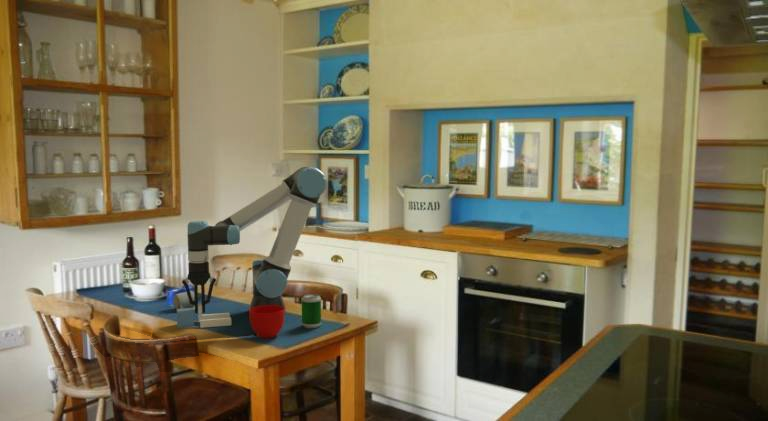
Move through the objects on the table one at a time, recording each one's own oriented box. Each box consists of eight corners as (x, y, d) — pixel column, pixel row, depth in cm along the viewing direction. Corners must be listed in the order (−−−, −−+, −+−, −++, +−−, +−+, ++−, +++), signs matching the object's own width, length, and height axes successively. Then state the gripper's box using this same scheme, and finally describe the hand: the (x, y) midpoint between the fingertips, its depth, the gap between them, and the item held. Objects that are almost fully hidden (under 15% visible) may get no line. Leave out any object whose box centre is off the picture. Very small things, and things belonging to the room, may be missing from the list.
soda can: (324, 327, 245) (324, 296, 244) (306, 329, 242) (306, 298, 241) (316, 322, 252) (316, 292, 251) (299, 325, 248) (298, 295, 247)
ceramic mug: (172, 309, 274) (171, 291, 273) (190, 306, 279) (190, 289, 278) (181, 314, 266) (180, 296, 265) (200, 311, 271) (199, 293, 270)
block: (193, 323, 248) (193, 307, 247) (193, 326, 242) (193, 311, 242) (177, 324, 246) (177, 309, 245) (177, 328, 241) (176, 312, 240)
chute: (229, 321, 254) (229, 312, 253) (231, 327, 245) (231, 318, 244) (181, 325, 248) (181, 316, 248) (181, 331, 239) (180, 322, 239)
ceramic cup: (265, 326, 246) (264, 301, 245) (292, 335, 234) (291, 308, 233) (236, 333, 237) (235, 307, 236) (263, 343, 225) (262, 315, 224)
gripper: (215, 258, 249) (217, 317, 251) (180, 260, 245) (182, 320, 247) (216, 261, 242) (218, 322, 244) (180, 263, 238) (182, 325, 240)
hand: (200, 321), depth 246 cm, fingers closed
